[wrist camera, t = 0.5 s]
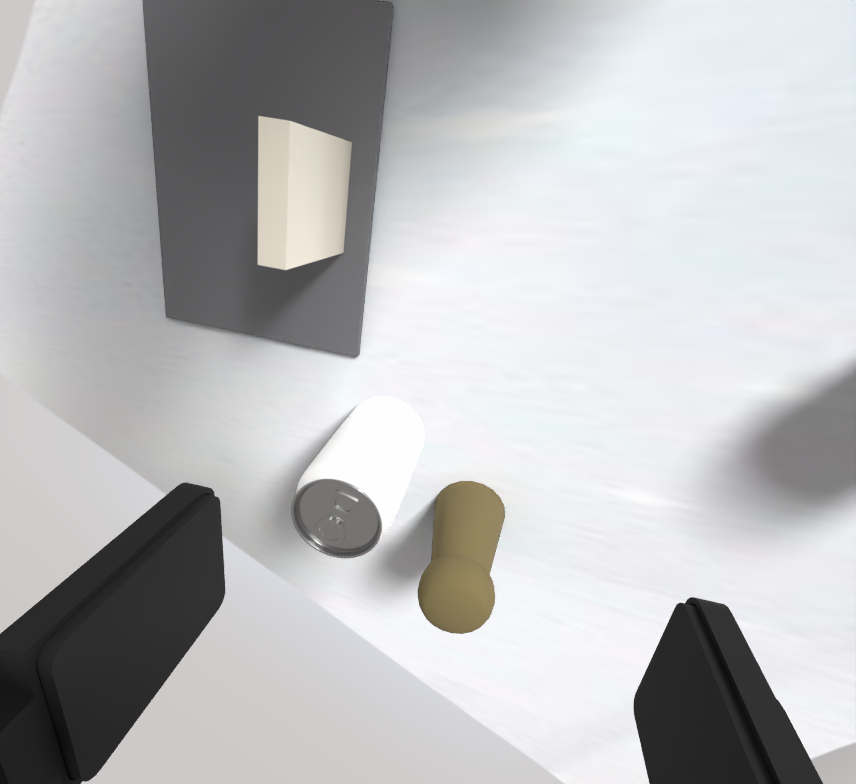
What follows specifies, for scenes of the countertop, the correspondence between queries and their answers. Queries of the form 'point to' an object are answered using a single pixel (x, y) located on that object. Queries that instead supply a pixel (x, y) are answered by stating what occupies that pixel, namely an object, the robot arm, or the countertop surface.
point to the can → (359, 478)
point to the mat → (238, 155)
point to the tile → (300, 193)
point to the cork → (462, 558)
